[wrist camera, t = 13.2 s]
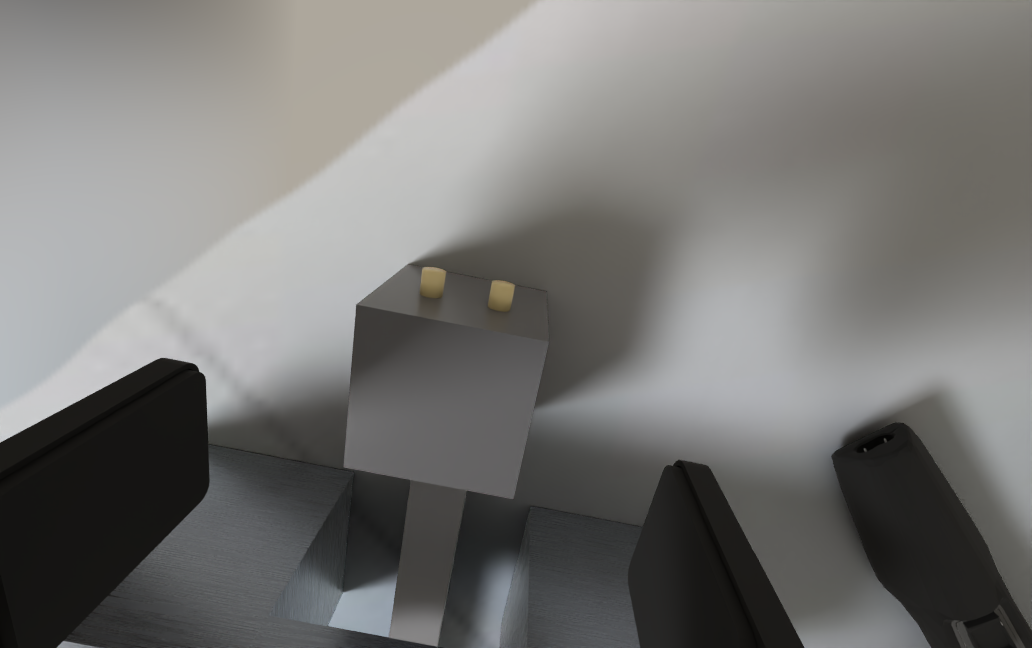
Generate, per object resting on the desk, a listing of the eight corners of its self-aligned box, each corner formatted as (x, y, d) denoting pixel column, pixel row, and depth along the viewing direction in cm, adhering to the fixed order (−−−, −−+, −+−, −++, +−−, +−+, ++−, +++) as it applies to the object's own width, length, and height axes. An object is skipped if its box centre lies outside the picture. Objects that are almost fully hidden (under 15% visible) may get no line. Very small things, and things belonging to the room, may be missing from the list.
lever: (449, 738, 22) (428, 872, 18) (355, 721, 22) (312, 852, 18) (551, 271, 15) (555, 315, 10) (410, 243, 15) (358, 276, 10)
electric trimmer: (892, 375, 16) (974, 424, 13) (1037, 668, 19) (1127, 760, 16) (784, 428, 17) (837, 486, 14) (942, 699, 20) (1011, 793, 17)
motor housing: (661, 652, 20) (725, 914, 13) (178, 563, 19) (-19, 783, 12) (707, 539, 18) (813, 777, 11) (171, 437, 17) (-69, 617, 10)
